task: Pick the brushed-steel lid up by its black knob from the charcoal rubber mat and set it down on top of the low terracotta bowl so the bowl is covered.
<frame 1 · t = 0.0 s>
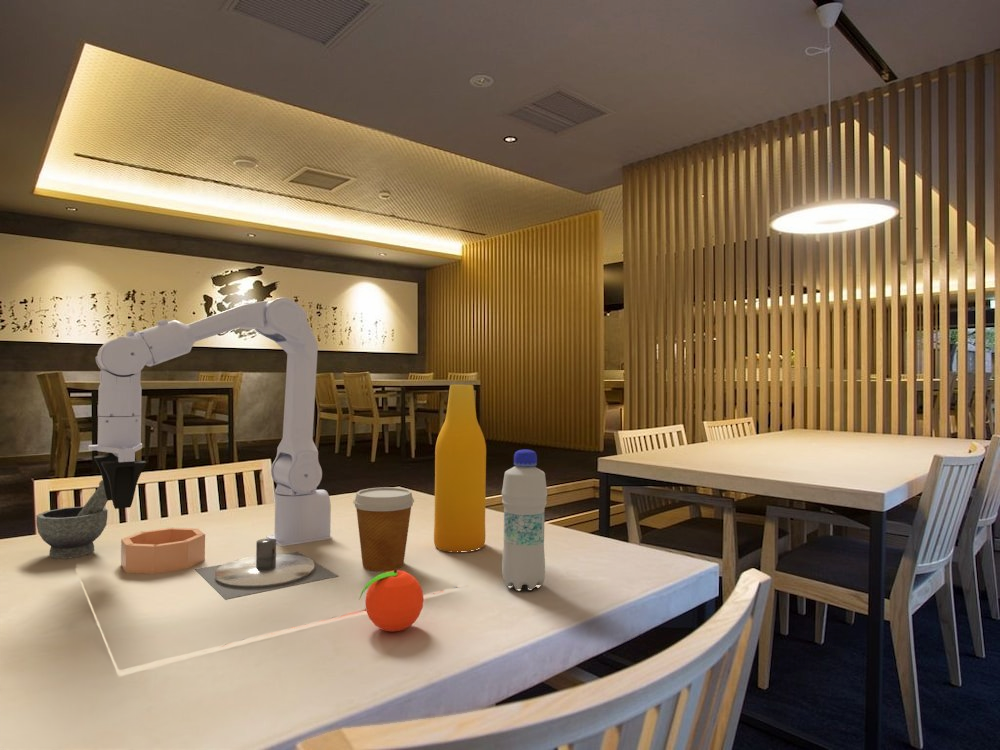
hand: (118, 503, 96), 10 cm above the table, tool pointing down, fingers open, 7 cm apart
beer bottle: (459, 547, 111), on the table
disposable coffee cup: (383, 569, 98), on the table
mortar and pestle: (77, 553, 104), on the table
rubber mat: (265, 575, 93), on the table
terracotta bowl: (163, 564, 98), on the table
clementine: (390, 632, 74), on the table
bottle: (523, 587, 90), on the table
steel lid: (265, 572, 93), resting on rubber mat
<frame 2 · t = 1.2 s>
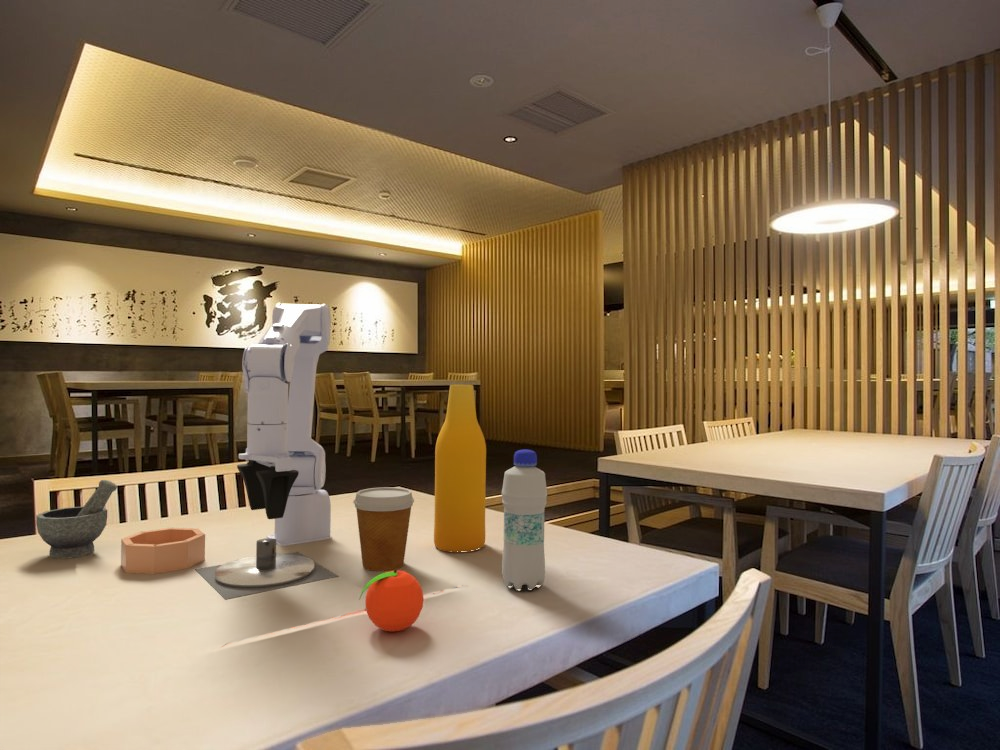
hand: (266, 513, 93), 9 cm above the table, tool pointing down, fingers open, 7 cm apart
nothing on the table moved.
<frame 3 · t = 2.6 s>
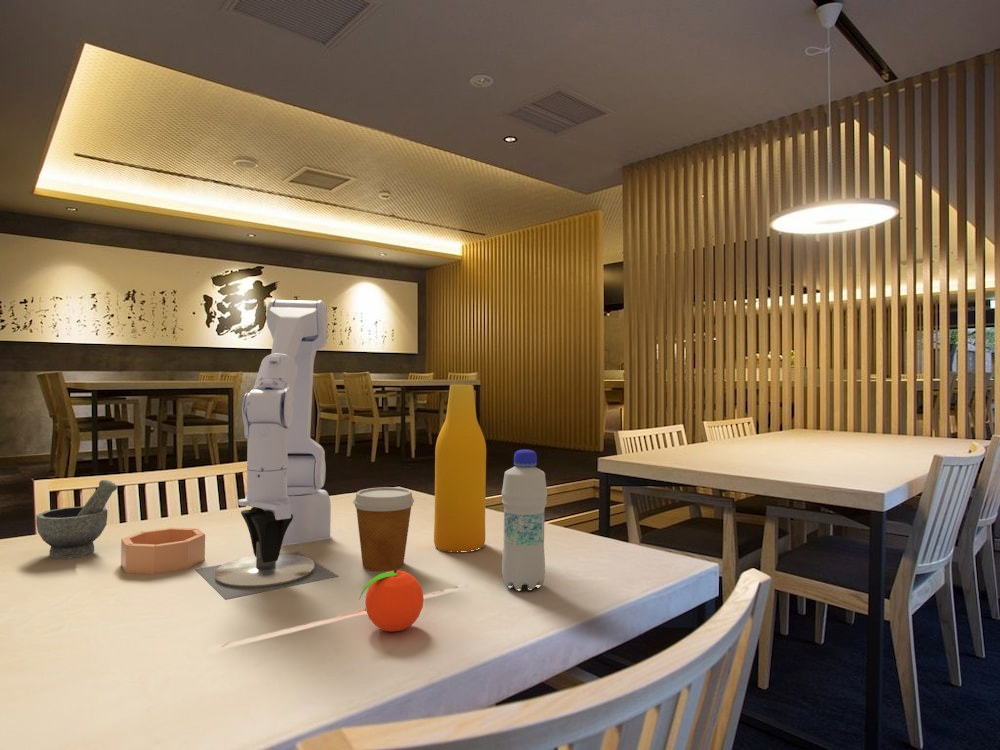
hand: (266, 558, 93), 3 cm above the table, tool pointing down, fingers closed on steel lid, 3 cm apart
steel lid: (265, 572, 93), resting on rubber mat, touching gripper
everything else where it was.
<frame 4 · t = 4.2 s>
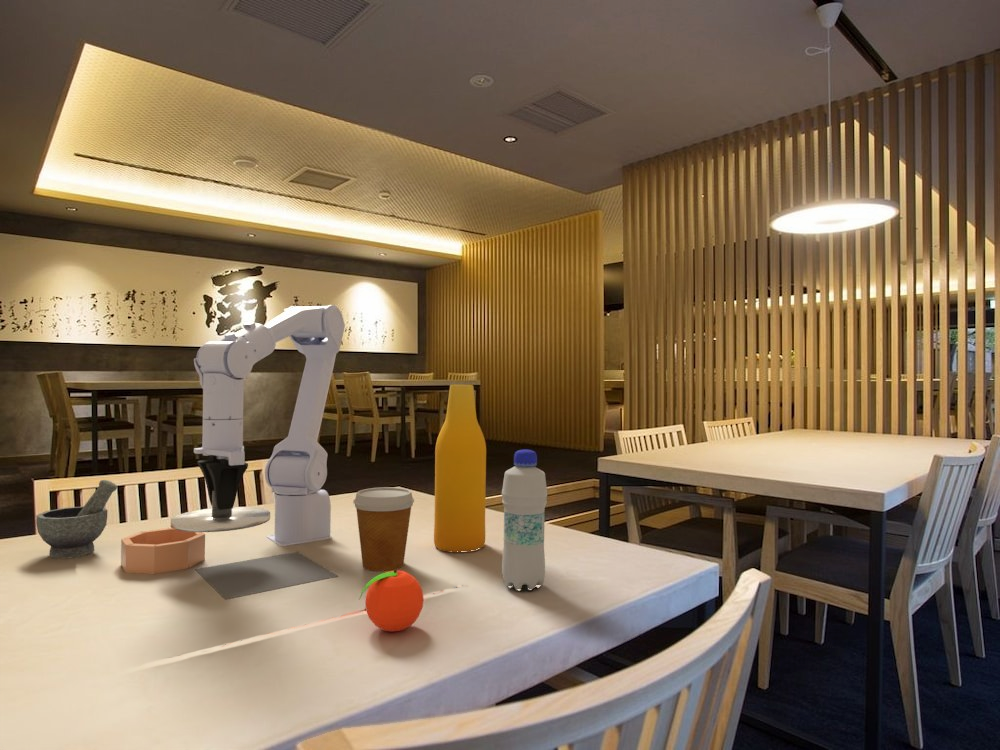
hand: (221, 506, 95), 10 cm above the table, tool pointing down, fingers closed on steel lid, 3 cm apart
steel lid: (221, 521, 95), point 8 cm above the table, touching gripper
everything else where it was.
when the fingers open (8 cm above the table, at t = 6.0 s): steel lid stays where it is, resting on terracotta bowl.
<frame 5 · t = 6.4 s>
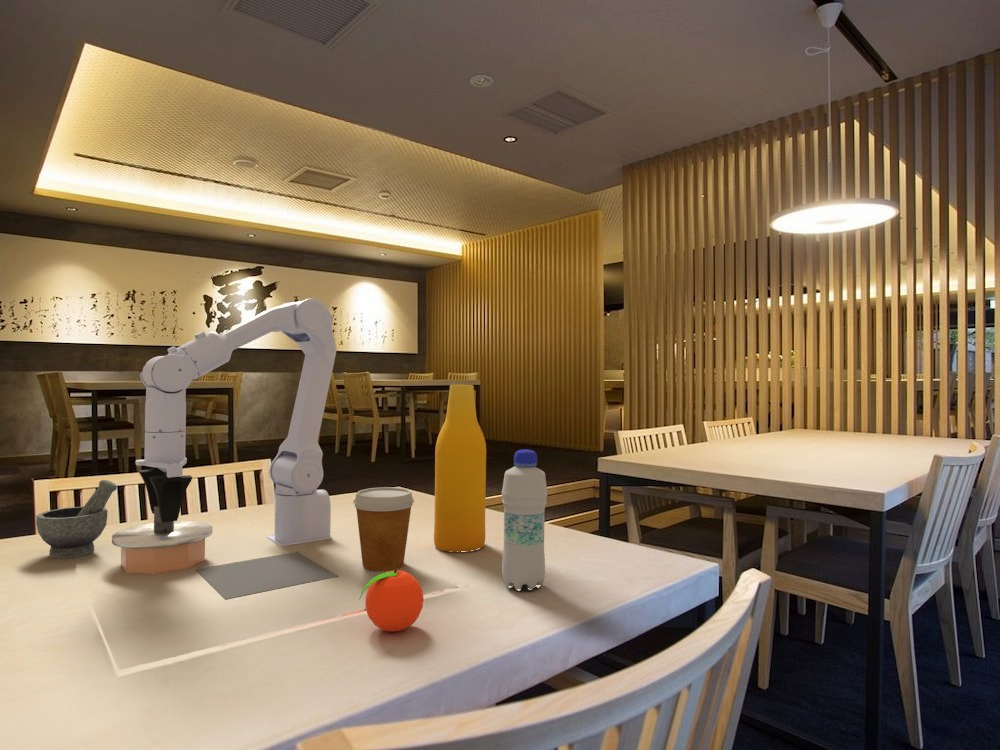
hand: (164, 516, 98), 8 cm above the table, tool pointing down, fingers open, 7 cm apart
steel lid: (163, 536, 98), point 4 cm above the table, touching terracotta bowl
everything else where it was.
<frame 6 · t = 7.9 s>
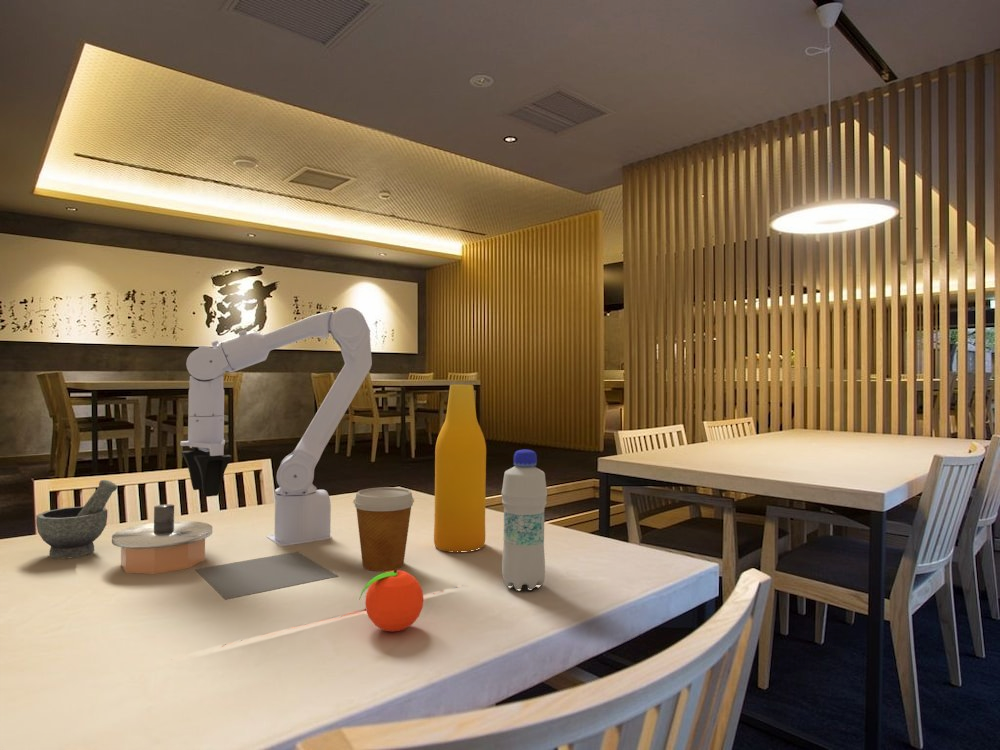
hand: (205, 492, 109), 9 cm above the table, tool pointing down, fingers open, 7 cm apart
nothing on the table moved.
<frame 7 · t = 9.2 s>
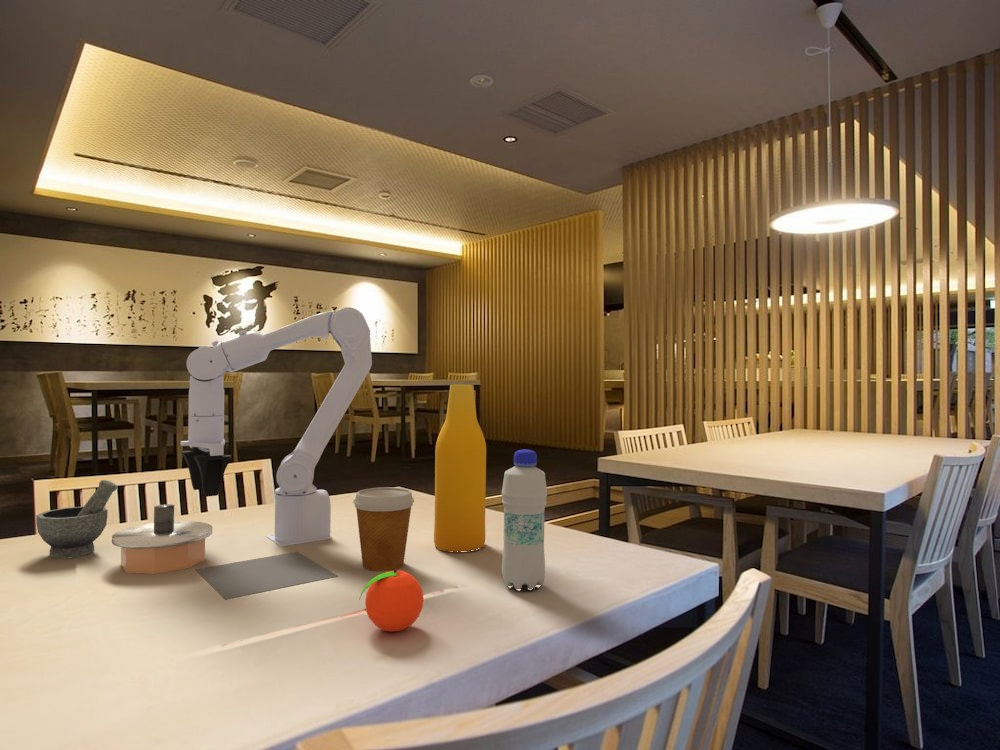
hand: (205, 492, 109), 9 cm above the table, tool pointing down, fingers open, 7 cm apart
nothing on the table moved.
at the end: steel lid 0.1 cm off-centre on the terracotta bowl, point 4.5 cm above the terracotta bowl's base; steel lid tilted 0°; the gripper is holding nothing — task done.
